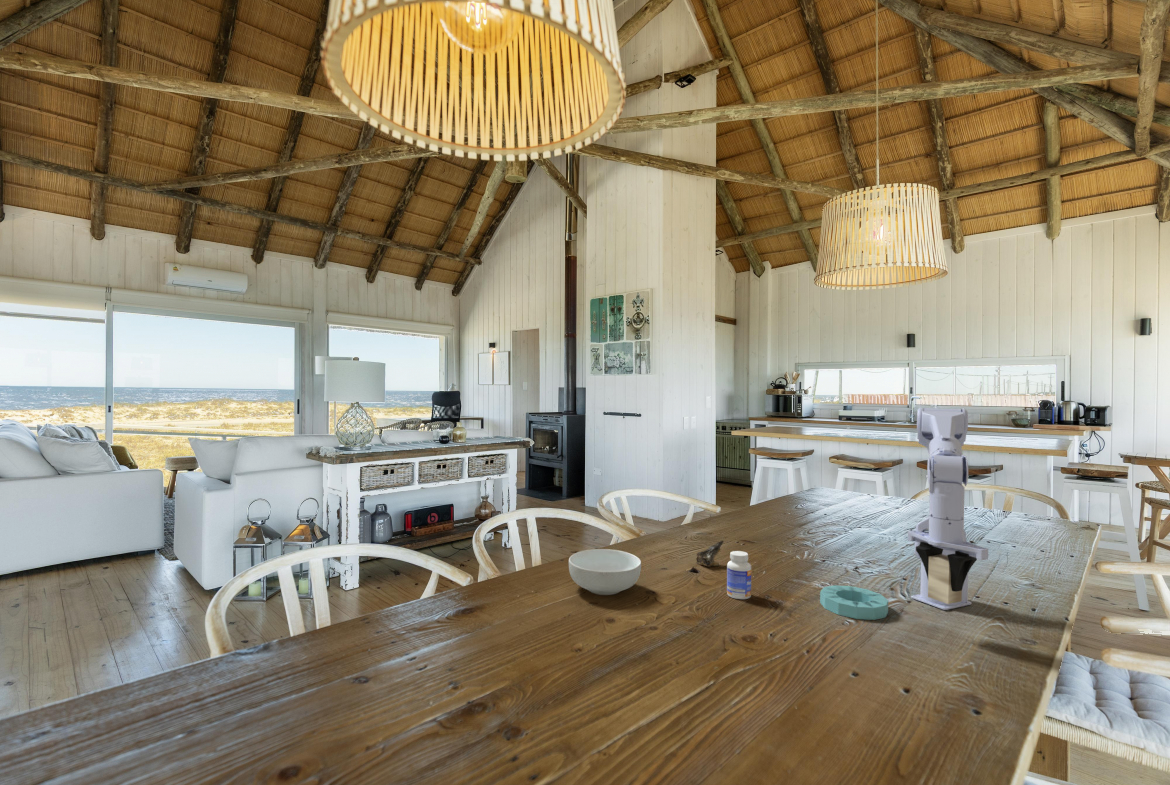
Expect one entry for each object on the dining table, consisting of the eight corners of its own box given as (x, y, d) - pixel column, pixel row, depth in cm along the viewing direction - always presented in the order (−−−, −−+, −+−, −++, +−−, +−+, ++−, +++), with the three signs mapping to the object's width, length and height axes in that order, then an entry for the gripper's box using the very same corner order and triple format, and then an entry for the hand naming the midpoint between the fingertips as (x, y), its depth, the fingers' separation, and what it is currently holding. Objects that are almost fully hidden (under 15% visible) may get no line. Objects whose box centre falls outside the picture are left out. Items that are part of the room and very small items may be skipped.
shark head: (716, 564, 154) (716, 539, 156) (730, 567, 149) (730, 541, 150) (691, 564, 152) (691, 539, 153) (704, 568, 146) (704, 541, 147)
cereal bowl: (556, 595, 126) (556, 564, 126) (584, 573, 142) (584, 545, 142) (628, 607, 120) (628, 574, 120) (648, 583, 136) (649, 554, 136)
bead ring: (849, 593, 131) (850, 582, 131) (901, 614, 119) (901, 602, 119) (808, 601, 126) (808, 589, 126) (857, 623, 114) (857, 611, 114)
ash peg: (941, 594, 112) (942, 554, 112) (961, 601, 108) (962, 559, 108) (927, 596, 110) (928, 556, 110) (948, 604, 106) (949, 562, 106)
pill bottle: (752, 601, 125) (752, 557, 125) (727, 598, 126) (728, 555, 126) (749, 592, 130) (750, 550, 130) (726, 590, 132) (726, 549, 132)
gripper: (898, 510, 114) (896, 577, 114) (972, 527, 101) (970, 602, 101) (921, 508, 117) (919, 573, 117) (996, 524, 104) (994, 597, 104)
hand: (944, 586), depth 109 cm, fingers closed on ash peg, 4 cm apart
